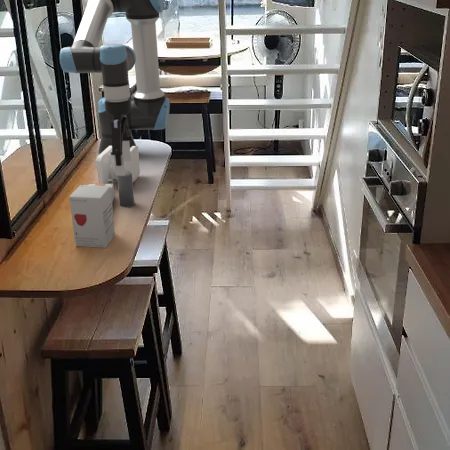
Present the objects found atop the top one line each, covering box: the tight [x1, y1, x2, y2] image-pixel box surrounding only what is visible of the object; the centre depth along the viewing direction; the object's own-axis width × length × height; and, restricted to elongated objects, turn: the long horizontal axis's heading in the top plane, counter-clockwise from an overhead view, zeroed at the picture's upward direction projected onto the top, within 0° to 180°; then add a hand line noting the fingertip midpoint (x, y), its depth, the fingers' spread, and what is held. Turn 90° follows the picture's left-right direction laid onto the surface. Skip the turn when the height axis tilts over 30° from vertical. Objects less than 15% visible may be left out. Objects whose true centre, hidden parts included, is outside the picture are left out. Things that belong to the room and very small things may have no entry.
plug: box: [116, 171, 135, 208], centre depth 191 cm, size 5×5×10 cm
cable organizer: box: [95, 145, 141, 184], centre depth 208 cm, size 15×11×12 cm
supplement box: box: [68, 184, 116, 249], centre depth 167 cm, size 9×9×15 cm
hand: (123, 167), depth 187 cm, fingers open, 13 cm apart
